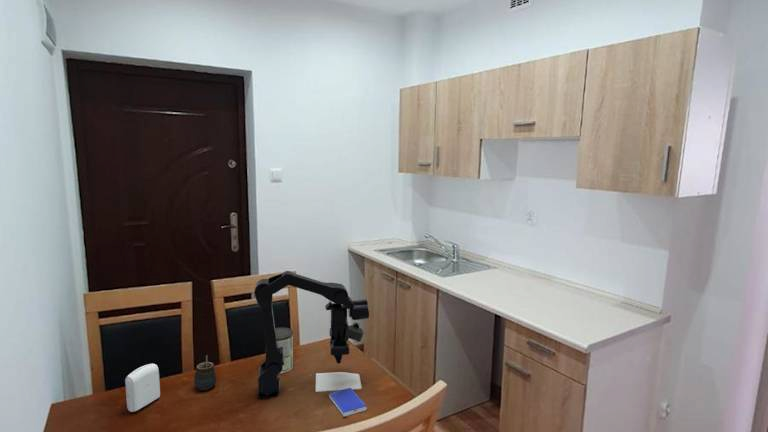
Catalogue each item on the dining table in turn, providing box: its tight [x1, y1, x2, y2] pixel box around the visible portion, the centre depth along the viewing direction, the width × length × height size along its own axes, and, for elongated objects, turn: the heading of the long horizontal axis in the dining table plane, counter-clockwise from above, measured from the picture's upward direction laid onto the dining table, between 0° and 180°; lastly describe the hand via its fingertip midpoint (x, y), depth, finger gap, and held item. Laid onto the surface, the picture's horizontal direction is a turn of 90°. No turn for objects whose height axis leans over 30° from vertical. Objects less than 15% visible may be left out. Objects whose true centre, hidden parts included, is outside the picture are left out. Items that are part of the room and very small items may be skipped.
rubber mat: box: [315, 371, 363, 393], centre depth 151 cm, size 16×12×1 cm
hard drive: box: [328, 388, 368, 417], centre depth 137 cm, size 2×8×12 cm
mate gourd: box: [193, 354, 217, 391], centre depth 146 cm, size 7×8×10 cm
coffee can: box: [275, 327, 294, 374], centre depth 160 cm, size 10×10×14 cm
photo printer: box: [124, 363, 161, 413], centre depth 135 cm, size 10×4×12 cm, turn 158°
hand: (338, 363), depth 148 cm, fingers closed
